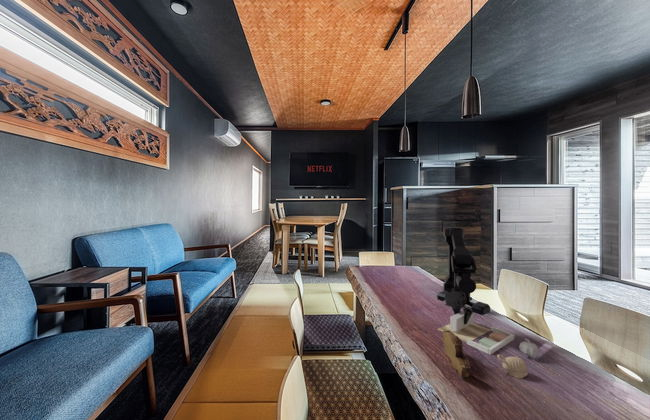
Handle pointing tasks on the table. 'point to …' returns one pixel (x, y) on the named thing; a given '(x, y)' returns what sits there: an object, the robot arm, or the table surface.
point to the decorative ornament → (514, 366)
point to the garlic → (529, 349)
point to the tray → (496, 346)
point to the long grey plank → (459, 321)
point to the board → (467, 331)
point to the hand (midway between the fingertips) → (461, 322)
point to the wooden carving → (456, 353)
